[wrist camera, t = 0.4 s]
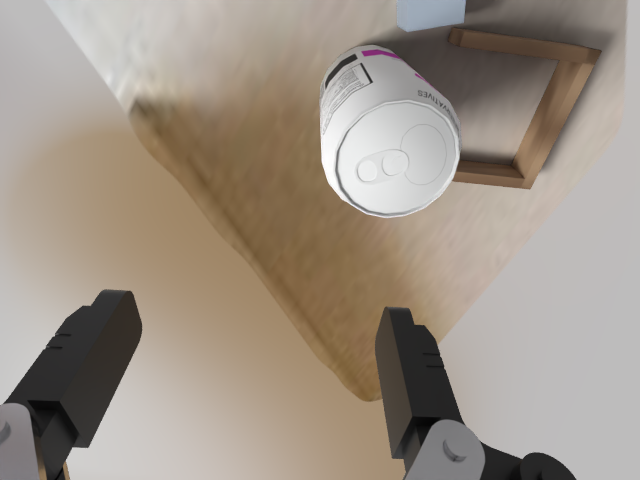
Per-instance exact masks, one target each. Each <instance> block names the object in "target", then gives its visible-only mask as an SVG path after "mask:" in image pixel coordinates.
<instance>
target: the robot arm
mask: <svg viewBox="0 0 640 480" xmlns="http://www.w3.org/2000/svg"><path fill="white" fill-rule="evenodd" d="M141 334H142V322H141V319H140V316H139V312H138V309H137V305H136V302H135V299H134V295H133V293H132V292H131V291H123V290H103V291H101V292H100V293H99V295H98V296H97V298H96V299H95V301H94V302H93V304H92V305H91V306H82V307H81V308H79V309H78V310H77V311H75V312H74V313H73V314H71V315H70V316H69V317H67V318H66V319H65V321H64V322H63V324H62V325H61V326H60V328H59V329H58V330H57V332H56V333H55V337H52V339H51V340H50V341H49V343H48V344H47V345H46V349H44V350H43V351H42V352H41V354H40V355H39V357H38V358H37V359H36V361H35V362H34V363H33V365H32V366H31V367H30V369H29V370H28V372H27V373H26V374H25V376H24V377H23V378H22V380H21V381H20V383H19V384H18V385H17V387H16V388H15V389H14V391H13V392H12V393H11V395H10V396H9V398H8V399H7V400H6V401H5V402H4V403H3V404H2V405H0V480H70V477H69V472H68V467H67V464H66V459H67V457H68V455H69V453H70V451H71V449H72V447H80V448H88V447H89V445H90V443H91V441H92V439H93V437H94V435H95V433H96V431H97V429H98V427H99V425H100V422H101V421H102V418H103V416H104V414H105V412H106V410H107V408H108V406H109V404H110V402H111V400H112V398H113V396H114V394H115V391H116V389H117V387H118V385H119V383H120V381H121V379H122V377H123V375H124V373H125V371H126V369H127V366H128V364H129V362H130V360H131V358H132V356H133V354H134V352H135V350H136V348H137V346H138V343H139V341H140V338H141ZM375 355H376V361H377V367H378V374H379V380H380V386H381V392H382V399H383V405H384V411H385V417H386V423H387V429H388V436H389V442H390V448H391V455H392V458H393V459H404V464H405V470H406V473H405V475H404V477H403V479H402V480H576V478H575V477H574V475H573V474H572V473H571V472H570V471H569V470H568V469H567V468H566V467H565V466H564V465H563V464H562V463H561V462H559V461H558V460H556V459H555V458H553V457H551V456H549V455H546V454H544V453H530V454H528V455H526V456H525V457H524V458H523V459H520V458H518V457H515V456H512V455H510V454H507V453H504V452H502V451H499V450H496V449H494V448H491V447H489V446H487V445H486V444H484V443H482V442H481V441H480V440H479V439H478V438H477V436H476V435H475V434H474V433H473V432H472V431H471V430H470V429H469V428H467V427H466V425H465V424H464V422H463V420H462V418H461V415H460V412H459V409H458V406H457V403H456V400H455V397H454V394H453V391H452V388H451V385H450V382H449V379H448V376H447V373H446V370H445V369H444V364H443V361H442V358H441V357H440V352H439V349H438V346H437V343H436V340H435V338H434V337H433V336H432V334H431V333H430V332H429V330H428V329H427V328H426V327H425V325H414V321H413V318H412V314H411V311H410V309H409V308H400V307H385V308H384V311H383V314H382V317H381V321H380V324H379V328H378V331H377V335H376V340H375Z"/></svg>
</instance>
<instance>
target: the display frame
mask: <svg viewBox="0 0 640 480" xmlns="http://www.w3.org/2000/svg"><path fill="white" fill-rule="evenodd" d="M448 42H450V43H453V44H455V45H457V46H459V47H466V48H473V49H480V50H488V51H495V52H503V53H510V54H517V55H525V56H532V57H540V58H547V59H554V60H559V63H558V65H557V67H556V69H555V71H554V73H553V76H552V78H551V80H550V82H549V84H548V86H547V89H546V91H545V93H544V95H543V97H542V99H541V102H540V104H539V106H538V108H537V110H536V112H535V115H534V117H533V119H532V121H531V123H530V125H529V128H528V130H527V132H526V134H525V136H524V138H523V141H522V143H521V145H520V147H519V149H518V151H517V154H516V156H515V158H514V160H513V162H512V164H511V166H510V165H500V164H491V163H482V162H473V161H464V160H459V161H458V165H457V168H456V171H455V175H454V178H453V179H452V181H455V182H465V183H474V184H484V185H493V186H503V187H513V188H522V189H531V187H532V185H533V183H534V181H535V179H536V177H537V175H538V173H539V171H540V169H541V168H542V166H543V164H544V162H545V160H546V158H547V156H548V154H549V152H550V150H551V148H552V146H553V144H554V142H555V140H556V139H557V137H558V135H559V133H560V131H561V129H562V127H563V125H564V123H565V121H566V119H567V117H568V115H569V113H570V111H571V109H572V108H573V106H574V104H575V102H576V100H577V98H578V96H579V94H580V92H581V90H582V88H583V86H584V84H585V82H586V80H587V78H588V77H589V75H590V73H591V71H592V69H593V67H594V65H595V63H596V61H597V59H598V57H599V55H600V53H601V50H597V49H592V48H588V47H584V46H580V45H574V44H567V43H560V42H552V41H545V40H538V39H531V38H524V37H517V36H510V35H502V34H495V33H488V32H481V31H474V30H467V29H459V28H451V32H450V35H449V39H448Z"/></svg>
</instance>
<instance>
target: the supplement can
mask: <svg viewBox="0 0 640 480" xmlns="http://www.w3.org/2000/svg"><path fill="white" fill-rule="evenodd" d="M319 104H320V128H321V152H322V164H323V167H324V170H325V173H326V177H327V180H328V183H329V184H330V185H331V187H332V188H333V189H334V190H335V191H336V193H337V194H338V195H339V196H340V198H341V199H343V200H344V201H346V202H348V203H349V204H350V205H352V206H354V207H355V208H357V209H359V210H360V211H362V212H364V213H365V214H368V215H373V216H378V217H383V218H390V217H399V216H406V215H409V214H411V213H414V212H416V211H419V210H421V209H424V208H425V207H427V206H428V205H429V204H430V203H432V202H433V201H434V200H436V199H437V198H438V197H439V196H441V195H442V193H443V192H444V190H445V189H446V188H447V186H448V185H449V183H450V182H451V181H452V179H453V178H454V175H455V171H456V168H457V165H458V161H459V158H460V156H459V154H460V151H461V148H462V140H461V124H460V121H459V119H458V117H457V115H456V113H455V111H454V109H453V107H452V105H451V103H450V101H448V100H447V99H446V98H445V97H444V96H443V95H442V94H441V93H439V92H438V91H437V90H436V89H435V88H434V87H433V86H432V85H430V84H429V83H428V82H427V81H426V80H425V79H424V78H423V77H421V76H420V75H419V74H418V73H417V72H416V71H415V70H414V69H413V68H411V67H410V66H409V65H408V64H407V63H406V62H405V61H404V60H402V59H401V58H400V57H399V56H397V55H396V54H395V53H394V52H392V51H391V50H390V49H387V48H383V47H380V46H376V45H366V46H359V47H354V48H352V49H351V50H349V51H347V52H345V53H343V54H342V55H340V56H339V57H338V58H337V59H336V60H335V61H334V62H333V63H332V65H331V66H330V67H329V68H328V69H327V71H326V74H325V76H324V79H323V81H322V84H321V86H320V103H319Z"/></svg>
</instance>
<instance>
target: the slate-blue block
mask: <svg viewBox="0 0 640 480" xmlns="http://www.w3.org/2000/svg"><path fill="white" fill-rule="evenodd" d="M465 3H466V0H397V27H399V28H401V29H403V30H405V31H407V32H411V31H417V30H423V29H429V28H435V27H441V26H447V25H453V24H459V23H464V15H465Z"/></svg>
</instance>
